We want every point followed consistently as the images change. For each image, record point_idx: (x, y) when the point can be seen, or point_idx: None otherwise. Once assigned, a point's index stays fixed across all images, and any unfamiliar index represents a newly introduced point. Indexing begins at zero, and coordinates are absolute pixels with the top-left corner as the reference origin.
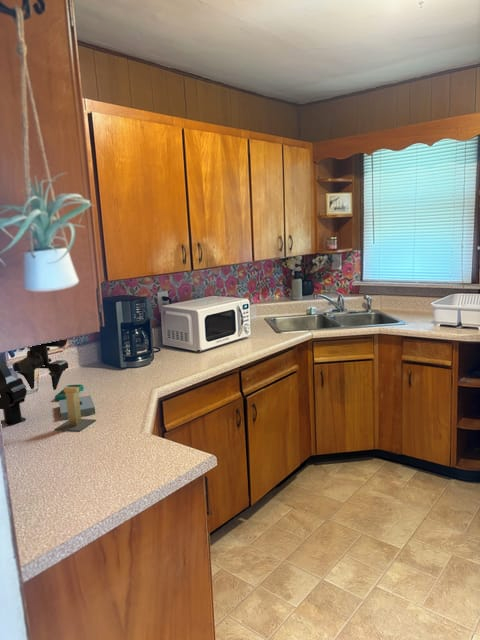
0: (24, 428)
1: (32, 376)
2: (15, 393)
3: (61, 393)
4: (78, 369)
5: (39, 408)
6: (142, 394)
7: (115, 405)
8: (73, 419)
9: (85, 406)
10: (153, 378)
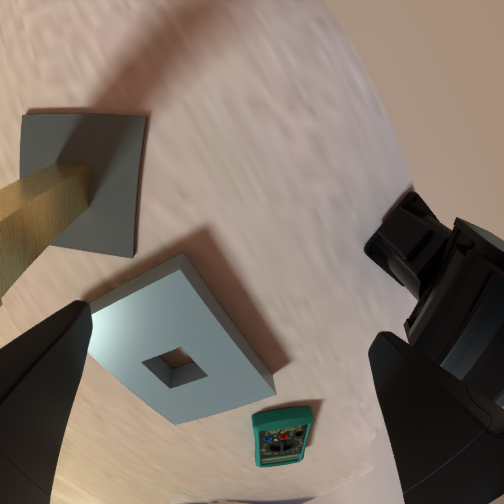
0: (331, 149)
1: (418, 458)
2: (476, 288)
3: (297, 432)
4: (315, 492)
5: (344, 356)
6: None
7: None
8: (50, 171)
9: (110, 341)
10: (114, 474)
